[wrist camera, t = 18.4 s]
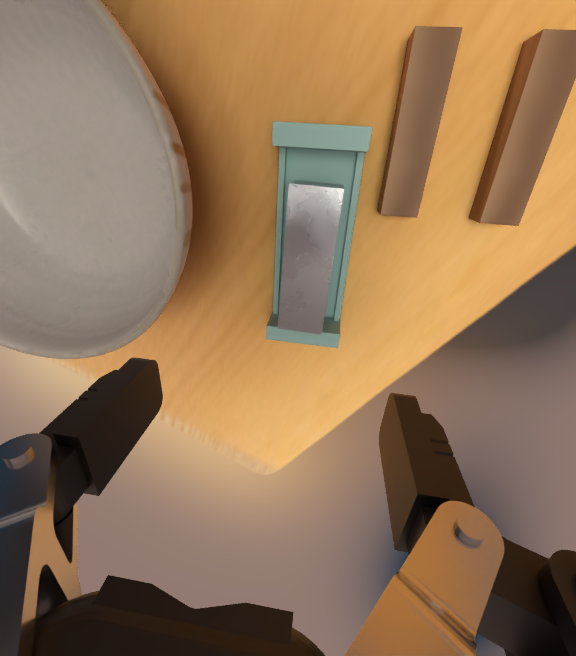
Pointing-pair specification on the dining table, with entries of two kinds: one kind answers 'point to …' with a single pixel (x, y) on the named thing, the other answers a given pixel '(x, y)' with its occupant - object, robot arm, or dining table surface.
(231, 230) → the dining table surface
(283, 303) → the grey rectangular block
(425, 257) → the dining table surface
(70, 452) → the robot arm
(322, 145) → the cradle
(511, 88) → the slotted beam
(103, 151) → the decorative bowl
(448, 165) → the dining table surface
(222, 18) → the dining table surface
